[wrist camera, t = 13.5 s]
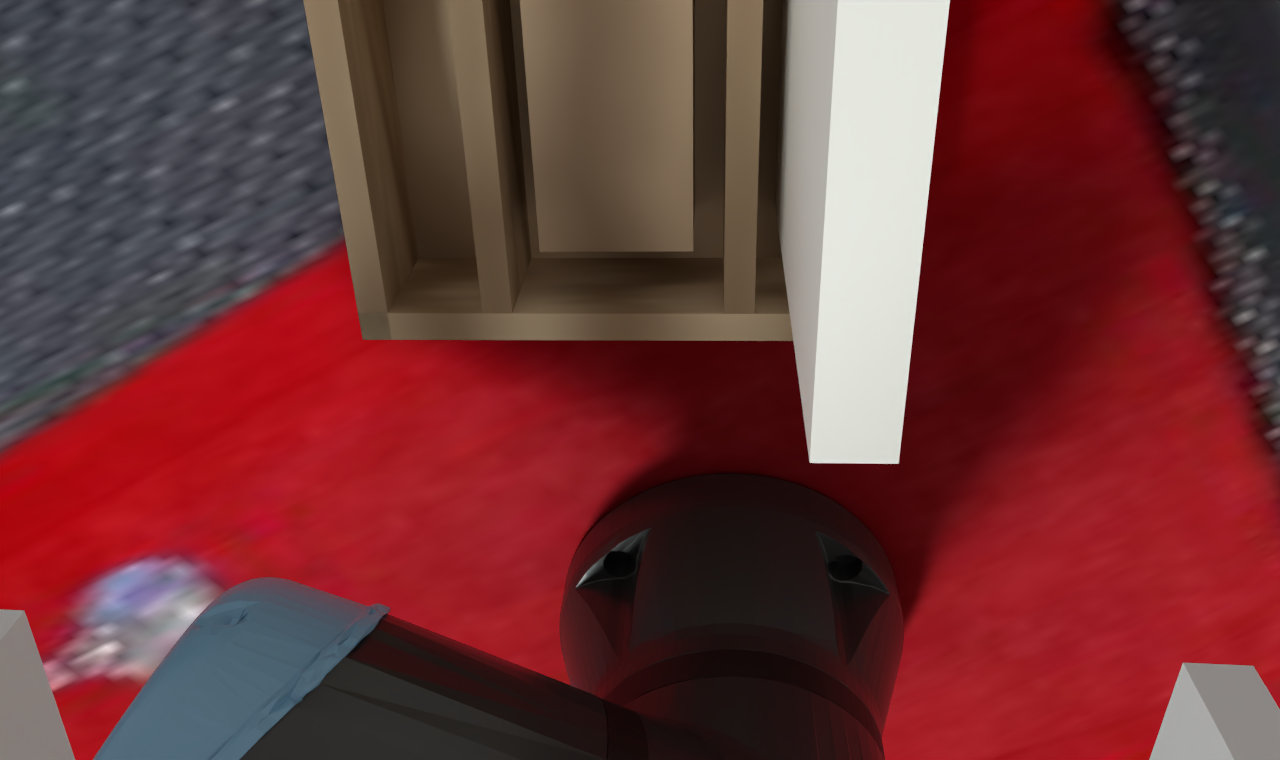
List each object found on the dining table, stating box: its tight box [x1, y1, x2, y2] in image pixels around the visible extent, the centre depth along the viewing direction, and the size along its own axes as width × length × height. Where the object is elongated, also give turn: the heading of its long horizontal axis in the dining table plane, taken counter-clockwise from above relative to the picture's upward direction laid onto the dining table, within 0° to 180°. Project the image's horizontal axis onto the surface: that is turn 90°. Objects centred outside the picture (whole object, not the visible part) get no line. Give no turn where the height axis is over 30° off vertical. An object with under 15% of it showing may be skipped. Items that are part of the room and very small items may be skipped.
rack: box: [304, 0, 793, 341], centre depth 34 cm, size 18×20×6 cm
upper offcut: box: [520, 0, 694, 252], centre depth 33 cm, size 5×14×2 cm, turn 1°
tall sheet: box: [775, 0, 950, 464], centre depth 28 cm, size 2×14×16 cm, turn 1°
